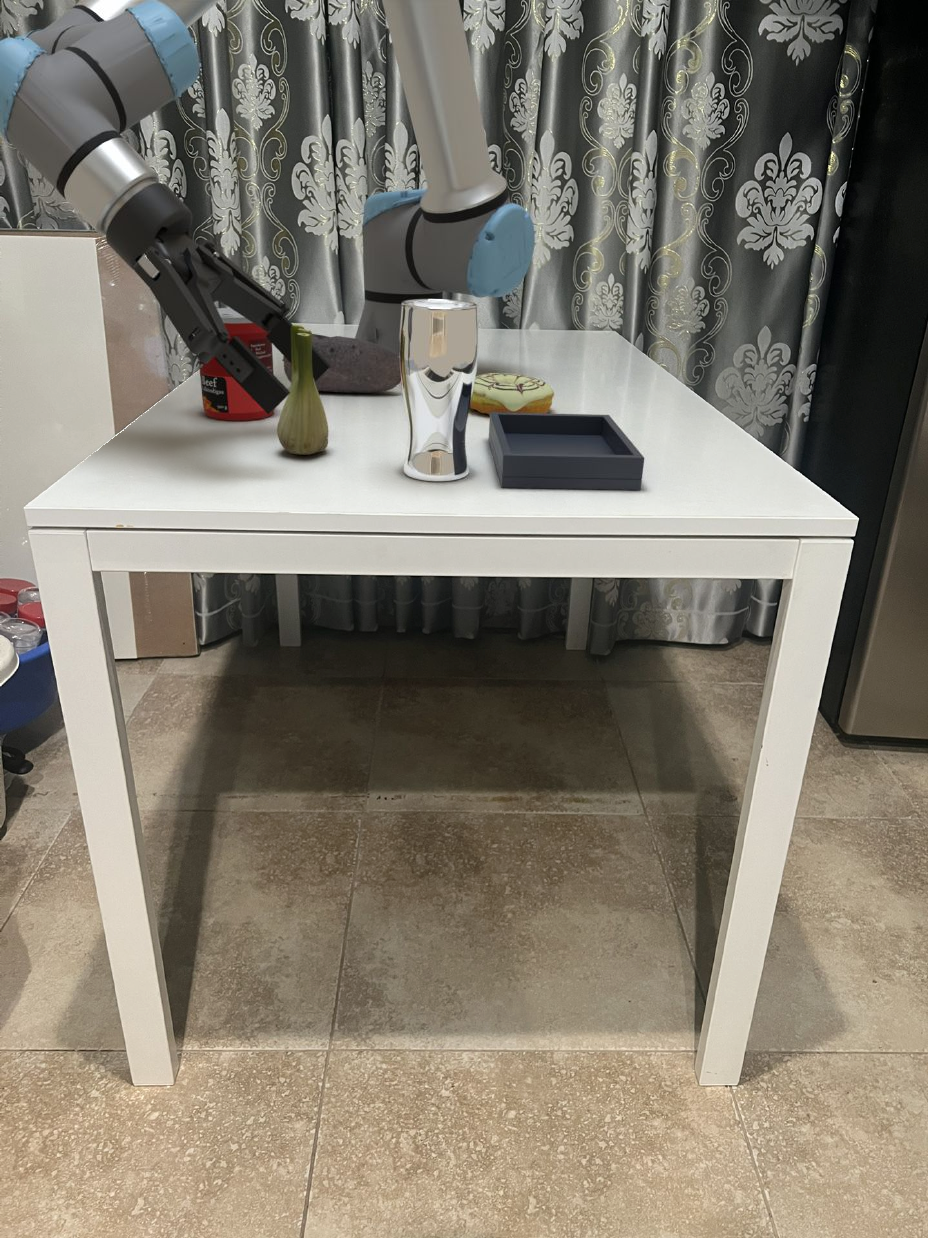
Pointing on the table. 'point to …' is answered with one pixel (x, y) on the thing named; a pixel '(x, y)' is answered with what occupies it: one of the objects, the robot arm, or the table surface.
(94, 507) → the table surface
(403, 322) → the beer glass
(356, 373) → the perforated stone tool
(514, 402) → the decorated donut
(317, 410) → the fennel bulb
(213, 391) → the canned food
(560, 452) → the dark grey tray
